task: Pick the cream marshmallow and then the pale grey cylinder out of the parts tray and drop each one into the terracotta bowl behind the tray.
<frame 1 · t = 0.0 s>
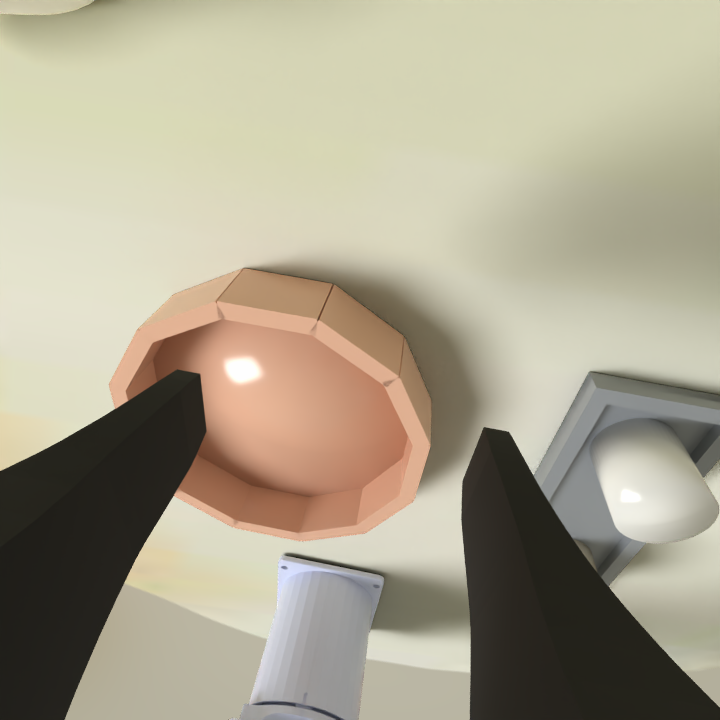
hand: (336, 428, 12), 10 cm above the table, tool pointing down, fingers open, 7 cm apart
bowl: (284, 403, 25), on the table
parts tray: (588, 499, 26), on the table
pale grey cylinder: (632, 447, 23), point 1 cm above the table, touching parts tray
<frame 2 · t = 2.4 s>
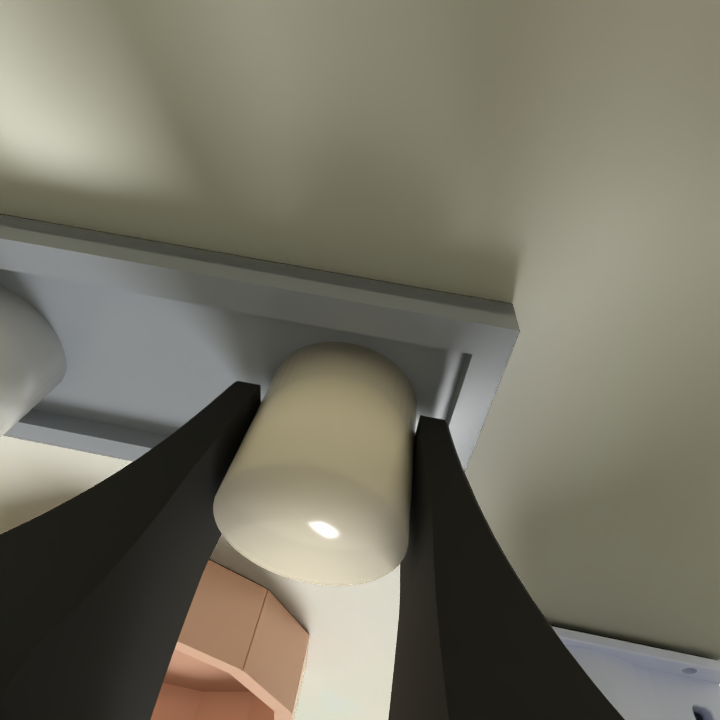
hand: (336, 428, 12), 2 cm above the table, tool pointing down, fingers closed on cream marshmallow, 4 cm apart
bowl: (162, 621, 24), on the table
parts tray: (176, 357, 13), on the table
cream marshmallow: (343, 403, 12), point 1 cm above the table, touching gripper, parts tray
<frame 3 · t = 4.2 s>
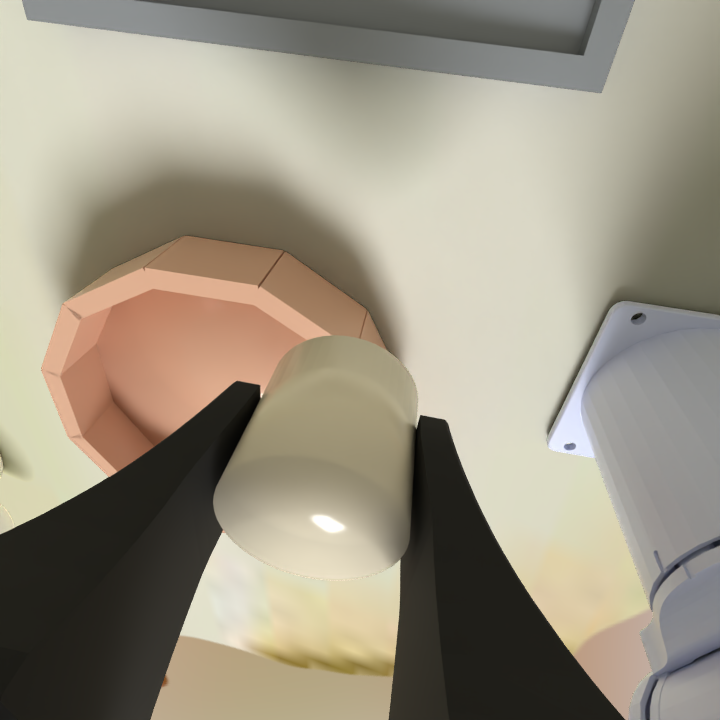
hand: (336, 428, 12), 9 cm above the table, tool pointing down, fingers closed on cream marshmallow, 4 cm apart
bowl: (244, 389, 23), on the table
cream marshmallow: (344, 398, 12), point 8 cm above the table, touching gripper
when the fingers open (4 cm above the table, at t = 5.9 s): cream marshmallow drops 3 cm, resting on bowl.
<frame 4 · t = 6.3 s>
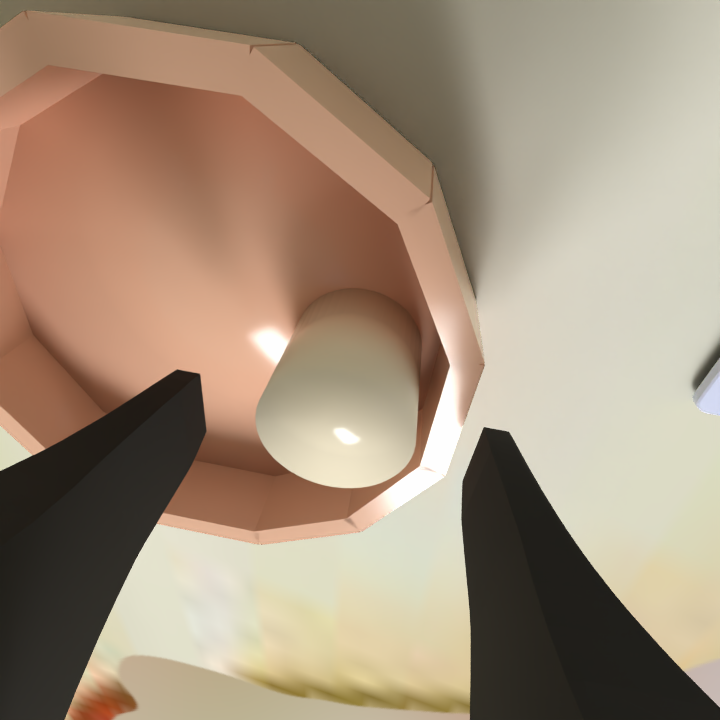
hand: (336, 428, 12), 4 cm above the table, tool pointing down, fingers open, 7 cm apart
bowl: (227, 315, 15), on the table
cream marshmallow: (358, 345, 14), point 1 cm above the table, touching bowl
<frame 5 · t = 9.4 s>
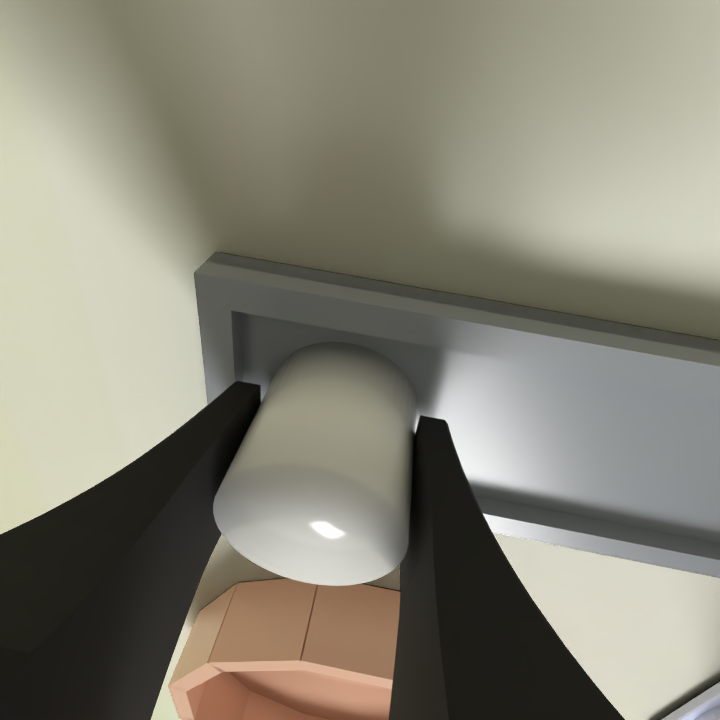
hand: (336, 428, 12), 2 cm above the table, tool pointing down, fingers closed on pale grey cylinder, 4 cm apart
bowl: (348, 661, 23), on the table
parts tray: (522, 422, 13), on the table
pale grey cylinder: (343, 403, 12), point 1 cm above the table, touching gripper, parts tray
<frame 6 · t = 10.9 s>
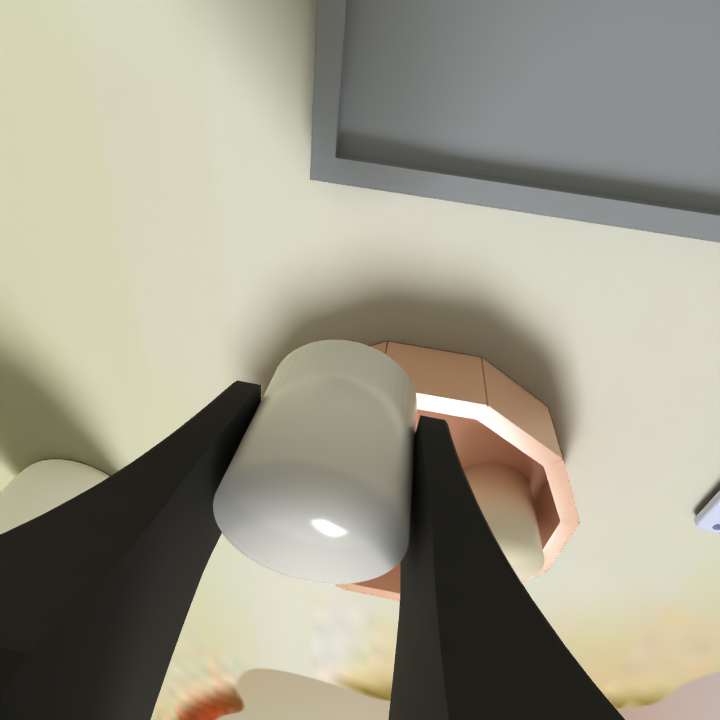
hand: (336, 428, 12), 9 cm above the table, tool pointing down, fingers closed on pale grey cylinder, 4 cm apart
bowl: (404, 466, 25), on the table
parts tray: (601, 92, 14), on the table
pale grey cylinder: (343, 401, 12), point 8 cm above the table, touching gripper
cream marshmallow: (489, 489, 24), point 1 cm above the table, touching bowl
mug: (111, 509, 32), on the table
when the fingers open (4 cm above the table, at t = 12.8 s): pale grey cylinder drops 3 cm, resting on bowl.
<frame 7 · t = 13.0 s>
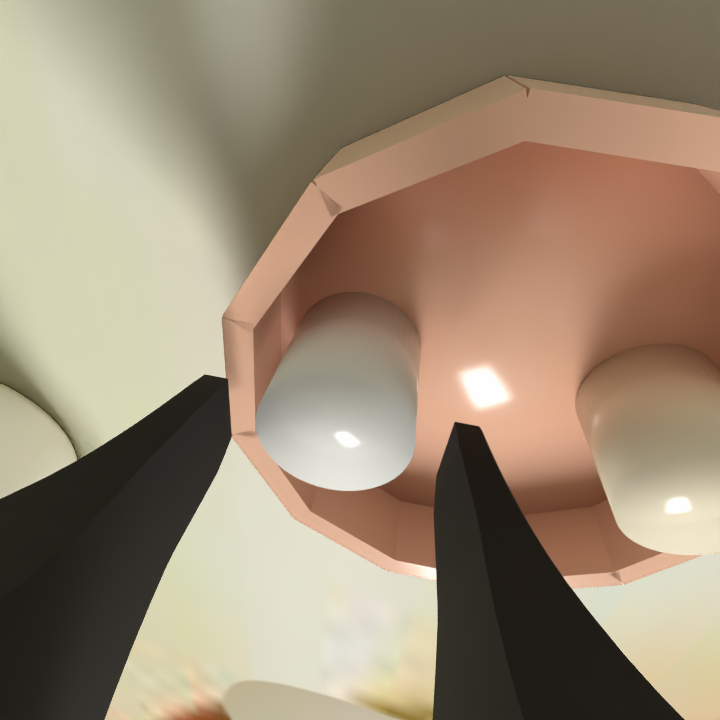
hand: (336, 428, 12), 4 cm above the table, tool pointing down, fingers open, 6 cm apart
bowl: (495, 364, 15), on the table
pale grey cylinder: (357, 348, 14), point 1 cm above the table, touching bowl
cream marshmallow: (645, 398, 14), point 1 cm above the table, touching bowl
mug: (38, 455, 22), on the table
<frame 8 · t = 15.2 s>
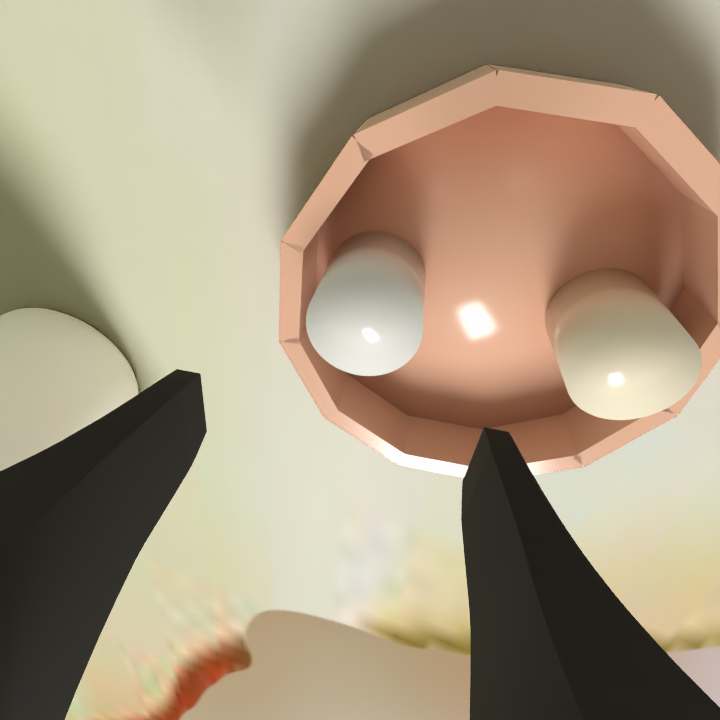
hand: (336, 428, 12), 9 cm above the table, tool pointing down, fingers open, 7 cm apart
bowl: (483, 292, 19), on the table
pale grey cylinder: (376, 278, 19), point 1 cm above the table, touching bowl
cream marshmallow: (597, 314, 18), point 1 cm above the table, touching bowl
mug: (102, 387, 26), on the table
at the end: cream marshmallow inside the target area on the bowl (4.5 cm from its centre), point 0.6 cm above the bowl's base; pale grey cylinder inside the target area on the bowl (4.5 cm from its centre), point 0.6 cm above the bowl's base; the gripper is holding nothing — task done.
